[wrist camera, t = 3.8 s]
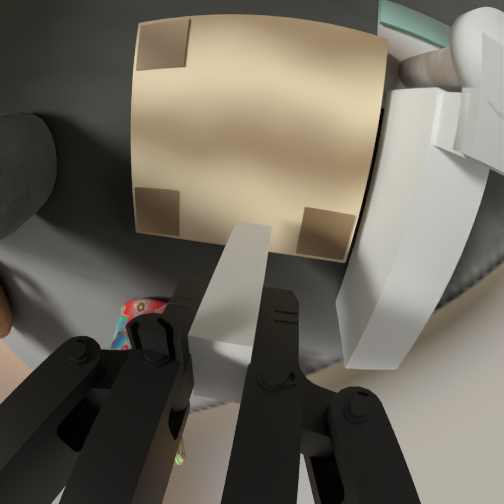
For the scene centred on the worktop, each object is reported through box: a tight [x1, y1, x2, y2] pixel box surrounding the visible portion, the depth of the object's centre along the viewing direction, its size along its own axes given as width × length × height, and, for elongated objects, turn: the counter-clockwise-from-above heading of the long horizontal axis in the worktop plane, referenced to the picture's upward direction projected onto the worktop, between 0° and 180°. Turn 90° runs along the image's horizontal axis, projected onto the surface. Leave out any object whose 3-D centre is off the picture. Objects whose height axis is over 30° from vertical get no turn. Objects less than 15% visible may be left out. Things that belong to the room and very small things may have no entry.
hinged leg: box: [336, 7, 504, 370], centre depth 10 cm, size 17×4×8 cm, turn 175°
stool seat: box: [131, 0, 462, 263], centre depth 9 cm, size 16×28×7 cm, turn 85°
